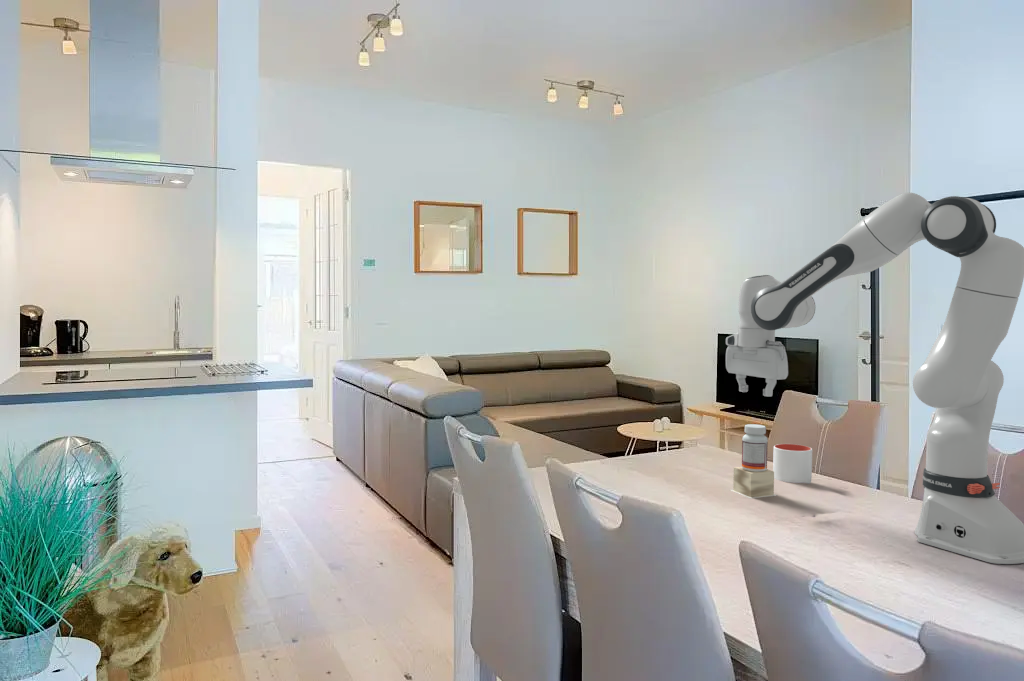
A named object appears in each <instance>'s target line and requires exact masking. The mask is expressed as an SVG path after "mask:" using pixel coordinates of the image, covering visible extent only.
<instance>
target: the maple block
mask: <svg viewBox="0 0 1024 681" xmlns="http://www.w3.org/2000/svg"><path fill="white" fill-rule="evenodd" d="M732 482H733V484H732V487H733V488H732V490H734V491H736V492H739V493H741V494H744V495H746V496H749V497H759V496H768V495H774V494H775V479H774V471H773V470H771V469H768V468H767V470H766V471H763V472H751V471H747V470H744V469H743V468H742V466H734V467H733V481H732Z"/></svg>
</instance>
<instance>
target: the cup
mask: <svg viewBox="0 0 1024 681" xmlns="http://www.w3.org/2000/svg"><path fill="white" fill-rule="evenodd" d="M772 451H773V455H772V456H773V457H772V458H773V459H772V460H773V461H772V463H773V464H772V471H774V480H776V481H779V482H785V483H791V484H792V483H794V484H807V485H811V483H812V480H813V479H812V478H813V475H812V474H813V448H812V447H810V446H806V445H802V444H795V443H794V444H793V443H778V444H775V445H774V446H773V450H772Z"/></svg>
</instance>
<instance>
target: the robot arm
mask: <svg viewBox="0 0 1024 681" xmlns="http://www.w3.org/2000/svg"><path fill="white" fill-rule="evenodd" d="M996 229H997V220H996V216H995V214H994V212H993V211H992V209H990V208H989V207H988V206H986V205H985V204H983V203H981V202H980V201H979V200H976V199H974V198H970V197H963V196H959V195H956V196H955V195H953V196H946V197H943V198H940V199H938V200H936V201H935V202H933V203H930V202H929V201H928V199H926V198H924V197H923V196H922V195H920V194H917V193H914V192H903V193H900V194H898V195H896V196H894V197H892V198H891V199H889V200H887V201H886V202H885V203H883V204H882V205H879V206H878V207H877V208H875V209H874V210H872V211H871V212H870V213H869V214H868V215H866V216H865V217H864V218H862V219H861V220H860V221H858V222H857V223H856V224H855V225H854V226H853V227H852V228H851V229H849V230H848V231H847V232H846V233H845V234H844V235H843V236H841V237H840V238H839V239H838V240H837V241H836V242H834V243H833V244H832V245H831V246H829V247H828V248H827V249H826V250H825V251H823V252H822V253H820V254H819V255H817V256H816V257H815V258H813V259H812V260H811V261H810V262H807V264H805V265H804V266H802V267H801V268H800V269H799V270H797V271H796V272H794V273H793V274H792V275H790V276H789V277H787V278H786V279H785V280H783V281H780V280H777V279H776V278H775V277H774V276H772V275H769V274H762V275H755V276H751V277H748V278H746V279H744V280H743V281H742V282H741V285H740V289H739V297H738V314H739V322H738V327H737V330H738V332H735V333H733V334H732V335H729V336H727V337H726V338H725V345H726V346H727V348H726V350H725V369H726V371H727V372H728V374H735V379H736V381H737V383H738V391H739V392H742V393H747V392H748V391H749V385H748V384H747V383H746V378H747V376H749V377H756V378H764V379H765V383H766V386H765V388H763V389H762V396H764V397H773V394H774V393H773V392H774V391H773V390H774V389H775V387H776V385H777V380H778V381H779V380H786V379H787V378H788V376H789V362H788V355H787V352H786V347H785V345H784V344H782V341H777V340H776V330H781V329H791V328H799V327H801V326H804V325H806V324H808V323H809V322H811V320H813V319H814V316H815V313H816V302H815V299H814V297H813V295H815V294H816V293H817V292H819V291H820V290H822V289H823V288H824V287H826V286H827V285H829V284H830V283H833V282H835V281H837V280H839V279H842V278H846V277H851V276H855V275H860V274H866V273H871V272H873V271H875V270H877V269H879V268H881V267H884V265H887V264H888V263H890V262H892V261H893V260H895V259H896V258H897V257H898V256H899V255H901V254H902V253H903V252H905V251H906V250H907V249H909V248H910V247H911V246H913V245H915V244H916V243H918V242H921V241H924V240H925V241H927V242H928V243H929V244H930V245H932V246H933V247H935V248H936V249H938V250H940V251H944V252H946V253H947V254H949V255H952V256H954V257H956V258H959V261H960V270H959V275H958V277H957V278H958V279H957V282H956V284H955V288H954V292H953V294H952V298H951V302H950V305H949V308H948V311H947V314H946V317H945V321H944V323H943V325H942V328H941V329H940V331H939V334H938V335H937V337H936V338H935V341H934V343H933V344H932V346H931V348H930V351H929V353H927V354H928V355H927V357H926V358H925V360H924V362H923V363H922V365H921V366H920V367H919V368H918V369H917V370H916V372H915V373H914V376H913V380H912V387H913V391H914V394H915V395H916V397H917V398H918V400H919V401H921V403H923V404H924V405H926V406H929V407H932V408H934V409H936V410H935V413H934V417H933V420H932V422H931V424H930V427H929V428H928V431H927V433H926V450H925V451H926V454H925V455H926V456H925V468H923V473H922V474H923V475H922V486H923V489H924V490H923V497H922V505H921V510H920V514H919V517H918V521H917V524H916V527H915V530H914V534H915V535H916V536H917V538H916V541H917V542H919V543H921V544H925V545H928V546H931V547H936V548H938V549H942V550H945V551H949V552H952V553H955V554H959V555H962V556H965V557H969V558H972V559H976V560H979V561H983V562H986V563H991V564H995V565H996V564H998V565H1016V564H1024V523H1023V522H1022V521H1021V520H1020V518H1018V516H1016V515H1015V514H1014V513H1013V512H1012V511H1011V510H1009V508H1008V507H1006V506H1005V504H1004V503H1002V501H1000V499H998V498H997V497H996V496H995V494H996V492H995V489H1001V487H1000V486H999V485H1000V484H1001V483H1000V482H995V483H994V482H993V483H992V480H991V478H990V476H989V475H988V462H989V460H988V458H989V457H988V456H989V442H990V434H991V430H992V424H993V422H994V421H993V420H994V418H995V414H996V410H997V409H996V408H997V404H998V400H999V399H998V398H999V394H1000V392H1001V390H1002V388H1003V386H1004V382H1005V381H1004V380H1005V378H1004V377H1005V376H1004V373H1003V371H1002V369H1001V368H1000V366H999V365H998V364H997V363H996V362H995V361H993V360H992V359H993V357H994V355H995V353H996V352H997V349H998V348H999V347H1000V345H1001V343H1002V342H1003V341H1004V340H1005V339H1006V337H1007V335H1008V333H1009V329H1010V326H1011V323H1012V321H1013V317H1014V314H1015V311H1016V308H1017V304H1018V302H1019V298H1020V294H1021V292H1022V291H1021V290H1022V287H1023V283H1024V246H1023V245H1022V244H1021V243H1019V242H1018V241H1016V240H1013V239H1011V238H1008V237H1003V236H999V235H997V234H996Z"/></svg>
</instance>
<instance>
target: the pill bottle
mask: <svg viewBox="0 0 1024 681" xmlns="http://www.w3.org/2000/svg"><path fill="white" fill-rule="evenodd" d="M744 433H746V434H744V435H743V436H742V437H741V438H742V440H741V442H742V443H741V451H742V452H741V467H742V468H743V469H744V470H747V471H751V472H763V471H766V470H767V469H768V444H769V442H768V440H769V439H768V437H767V436H766V433H767V427H766V426H765V425H763V424H756V423H755V424H754V423H752V424H751V423H748V424H745V425H744Z"/></svg>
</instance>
